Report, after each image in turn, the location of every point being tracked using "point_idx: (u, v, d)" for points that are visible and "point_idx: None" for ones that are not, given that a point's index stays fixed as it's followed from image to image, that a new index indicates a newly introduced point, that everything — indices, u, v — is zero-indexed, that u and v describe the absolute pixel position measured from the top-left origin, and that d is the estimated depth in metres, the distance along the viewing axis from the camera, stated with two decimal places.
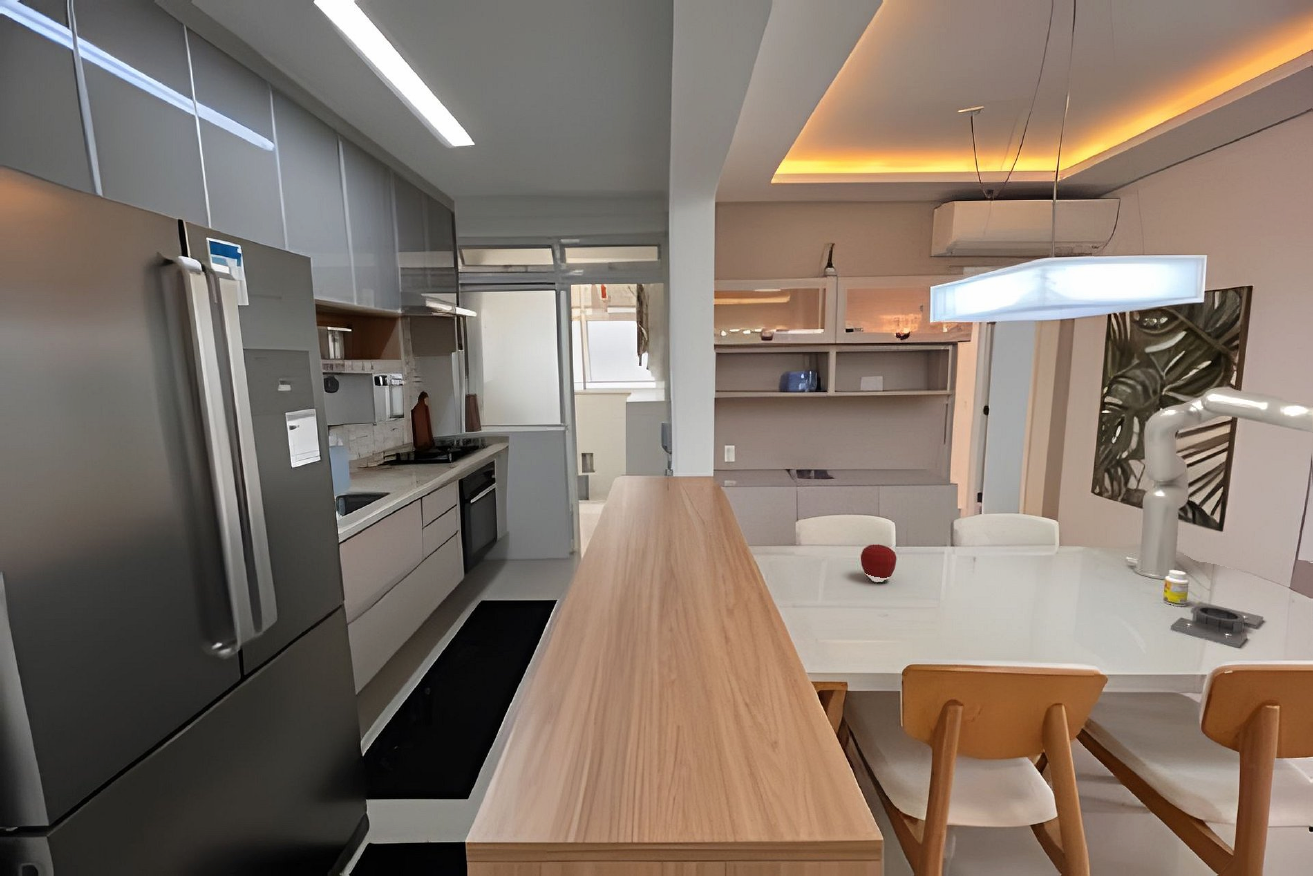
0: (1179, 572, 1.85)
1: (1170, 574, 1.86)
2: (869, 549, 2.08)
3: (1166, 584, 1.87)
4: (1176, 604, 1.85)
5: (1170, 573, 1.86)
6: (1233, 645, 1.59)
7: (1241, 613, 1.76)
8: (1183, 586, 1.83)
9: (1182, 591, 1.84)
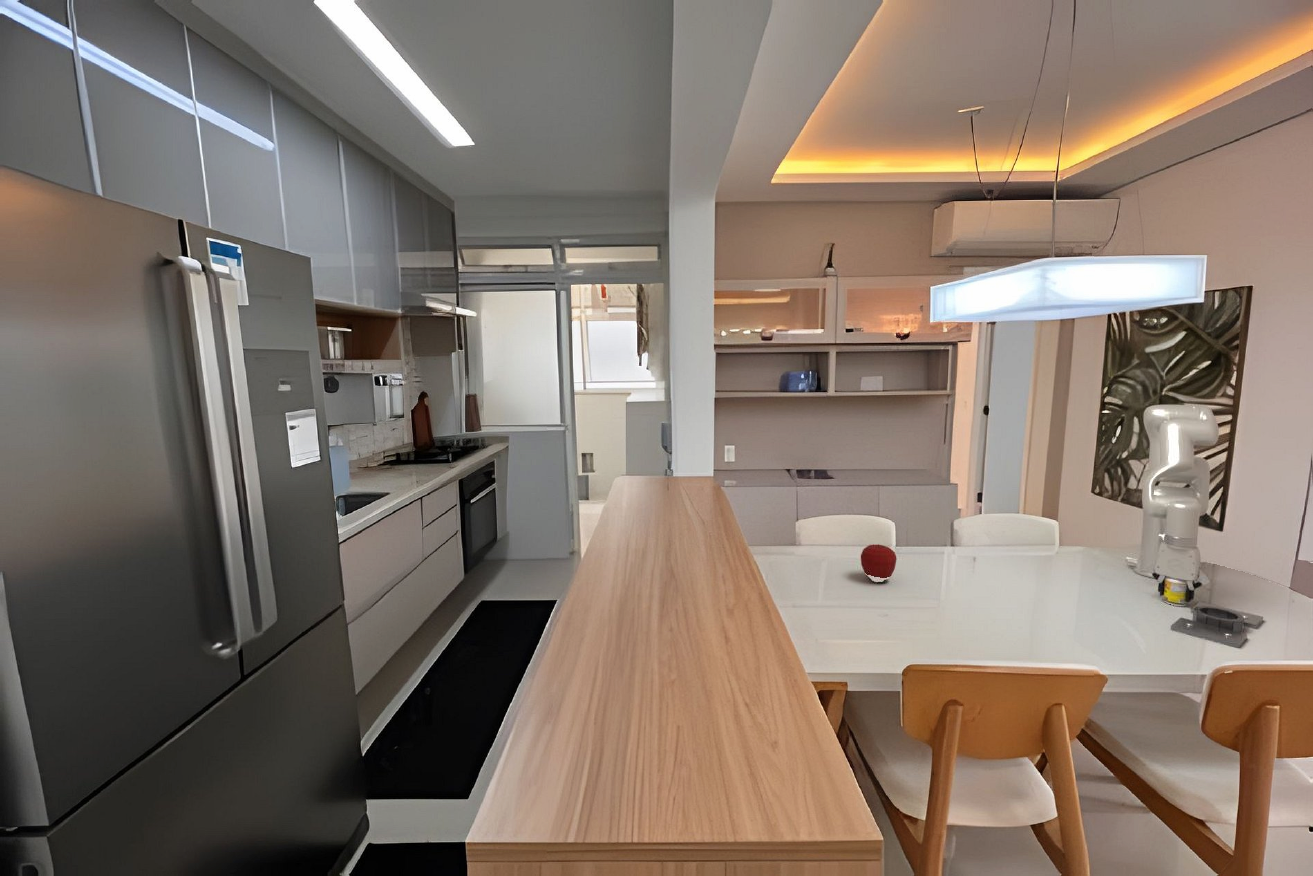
0: None
1: None
2: (869, 549, 2.08)
3: (1166, 584, 1.87)
4: (1176, 604, 1.85)
5: None
6: (1233, 645, 1.59)
7: (1241, 613, 1.76)
8: (1183, 586, 1.83)
9: (1182, 591, 1.84)
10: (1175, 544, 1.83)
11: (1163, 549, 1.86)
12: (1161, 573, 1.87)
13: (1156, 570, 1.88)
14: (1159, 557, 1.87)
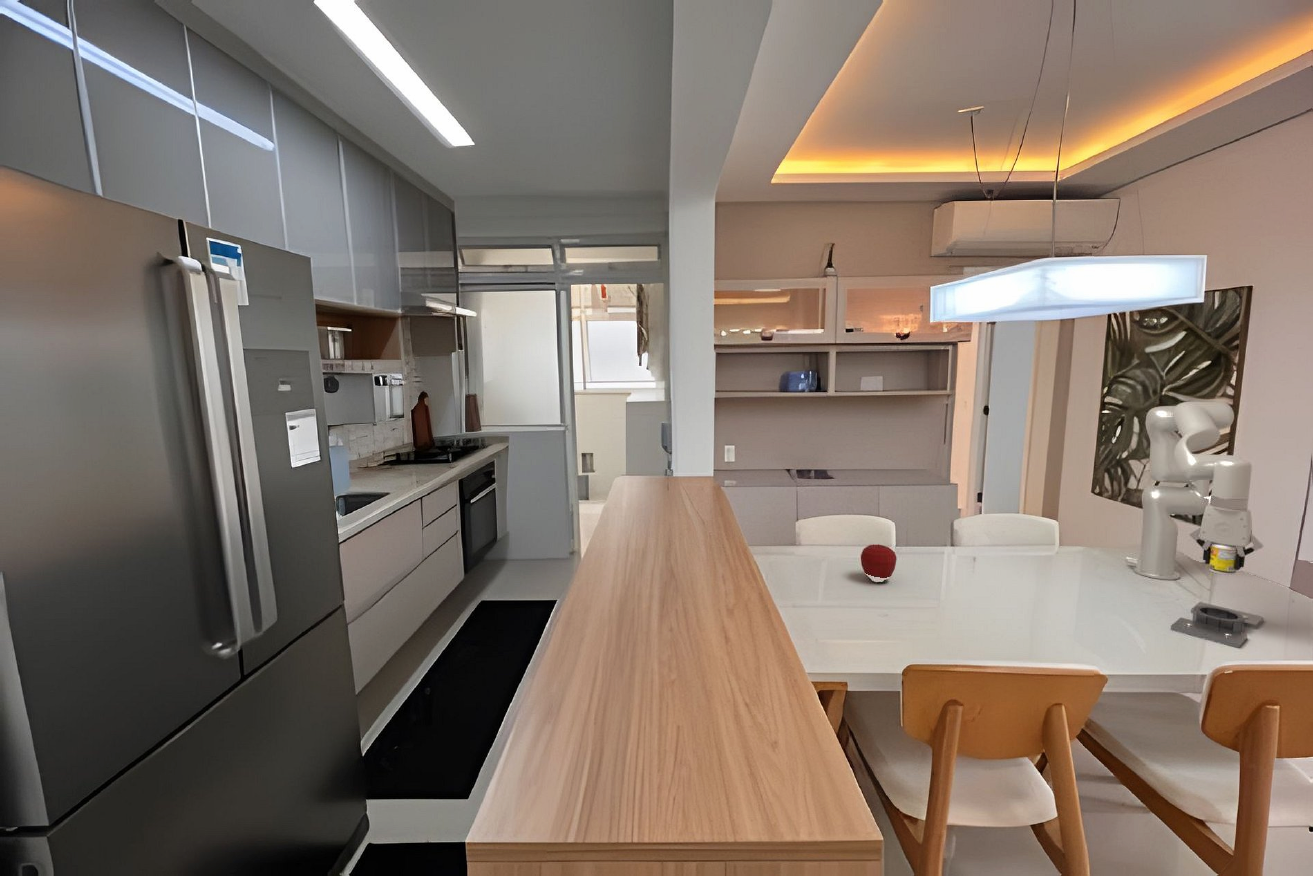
0: None
1: None
2: (869, 549, 2.08)
3: (1213, 551, 1.70)
4: (1224, 572, 1.68)
5: None
6: (1233, 645, 1.59)
7: (1241, 613, 1.76)
8: (1232, 552, 1.66)
9: (1231, 558, 1.67)
10: (1224, 506, 1.66)
11: (1209, 512, 1.69)
12: (1207, 539, 1.70)
13: (1201, 536, 1.71)
14: (1205, 521, 1.70)
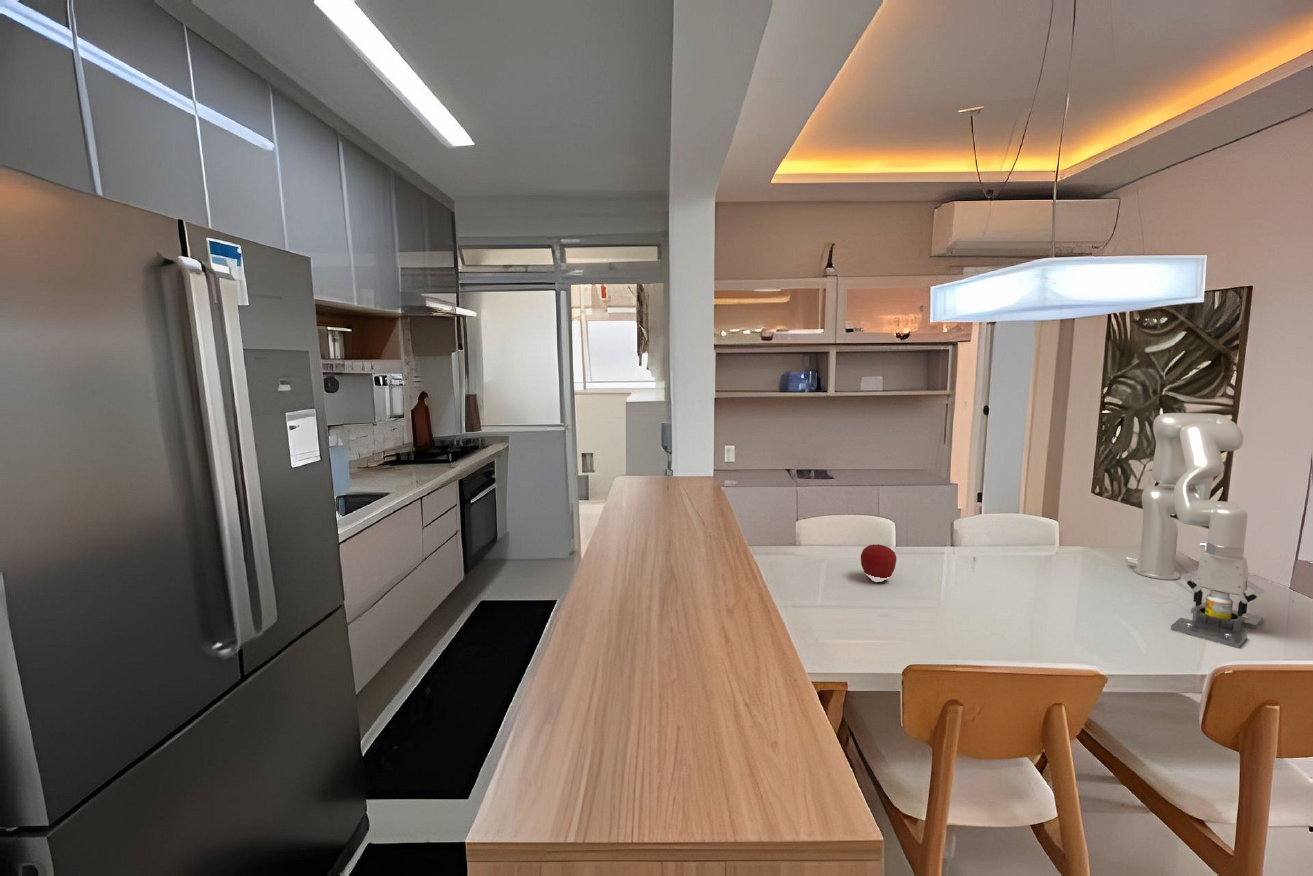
0: None
1: (1212, 593, 1.71)
2: (869, 549, 2.08)
3: (1208, 603, 1.71)
4: None
5: (1212, 592, 1.71)
6: (1233, 645, 1.59)
7: None
8: (1227, 606, 1.68)
9: (1225, 612, 1.68)
10: (1220, 554, 1.67)
11: (1206, 559, 1.70)
12: (1203, 585, 1.71)
13: (1198, 582, 1.72)
14: (1201, 568, 1.71)
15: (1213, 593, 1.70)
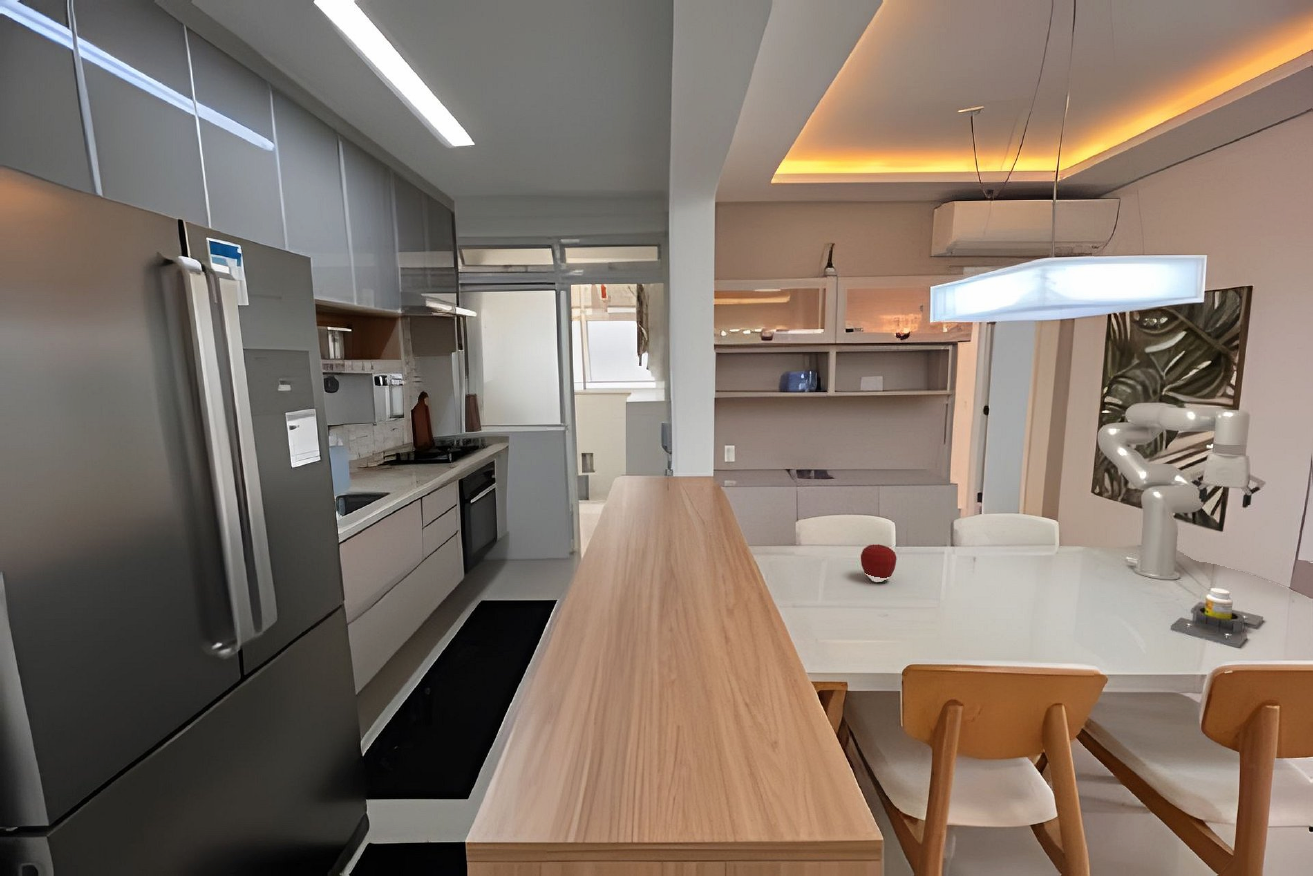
0: (1222, 591, 1.70)
1: (1212, 593, 1.71)
2: (869, 549, 2.08)
3: (1207, 604, 1.71)
4: None
5: (1212, 592, 1.71)
6: (1233, 645, 1.59)
7: (1241, 613, 1.76)
8: (1226, 606, 1.68)
9: (1225, 612, 1.68)
10: (1224, 452, 1.84)
11: (1212, 458, 1.87)
12: (1209, 483, 1.88)
13: (1204, 480, 1.89)
14: (1207, 467, 1.88)
15: (1213, 593, 1.71)
